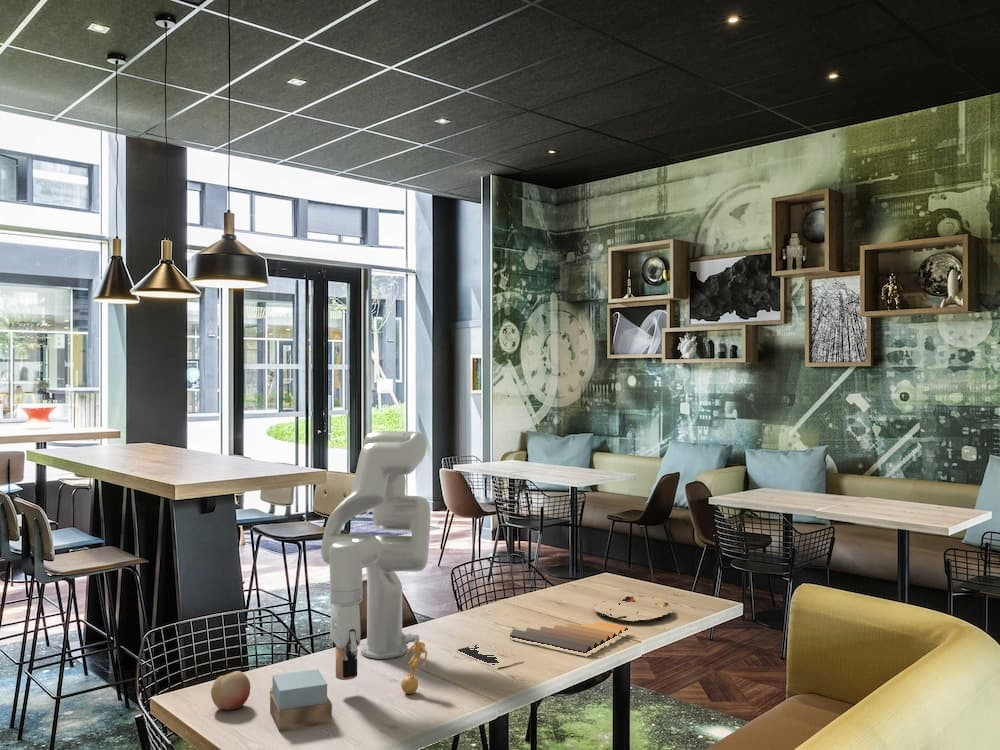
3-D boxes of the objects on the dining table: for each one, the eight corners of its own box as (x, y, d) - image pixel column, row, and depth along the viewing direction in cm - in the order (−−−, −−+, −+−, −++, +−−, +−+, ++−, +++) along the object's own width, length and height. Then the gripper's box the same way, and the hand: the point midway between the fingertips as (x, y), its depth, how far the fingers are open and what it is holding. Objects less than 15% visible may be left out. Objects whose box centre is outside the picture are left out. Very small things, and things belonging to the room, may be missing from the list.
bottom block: (319, 706, 180) (320, 686, 180) (331, 724, 170) (331, 703, 170) (270, 714, 175) (270, 694, 175) (279, 733, 165) (279, 712, 165)
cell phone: (481, 646, 222) (481, 643, 222) (523, 663, 208) (523, 659, 209) (456, 653, 217) (456, 649, 217) (497, 670, 203) (497, 667, 203)
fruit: (229, 699, 183) (229, 664, 183) (257, 704, 180) (257, 669, 180) (203, 712, 175) (204, 675, 176) (232, 717, 172) (232, 680, 173)
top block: (318, 686, 179) (318, 669, 179) (327, 702, 170) (327, 684, 170) (272, 693, 175) (272, 675, 175) (279, 710, 166) (279, 691, 166)
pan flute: (509, 642, 227) (585, 659, 212) (509, 630, 227) (585, 647, 212) (556, 622, 247) (629, 637, 232) (556, 611, 247) (629, 625, 232)
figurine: (393, 690, 189) (393, 639, 189) (414, 684, 192) (414, 634, 193) (412, 700, 182) (412, 648, 182) (433, 694, 186) (434, 642, 186)
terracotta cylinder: (354, 670, 189) (353, 641, 189) (360, 677, 185) (359, 647, 185) (333, 673, 187) (333, 644, 187) (338, 681, 183) (338, 651, 183)
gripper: (321, 588, 192) (321, 663, 192) (339, 606, 177) (340, 688, 177) (351, 584, 195) (352, 657, 195) (372, 602, 180) (372, 682, 180)
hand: (346, 671), depth 186 cm, fingers closed on terracotta cylinder, 5 cm apart
